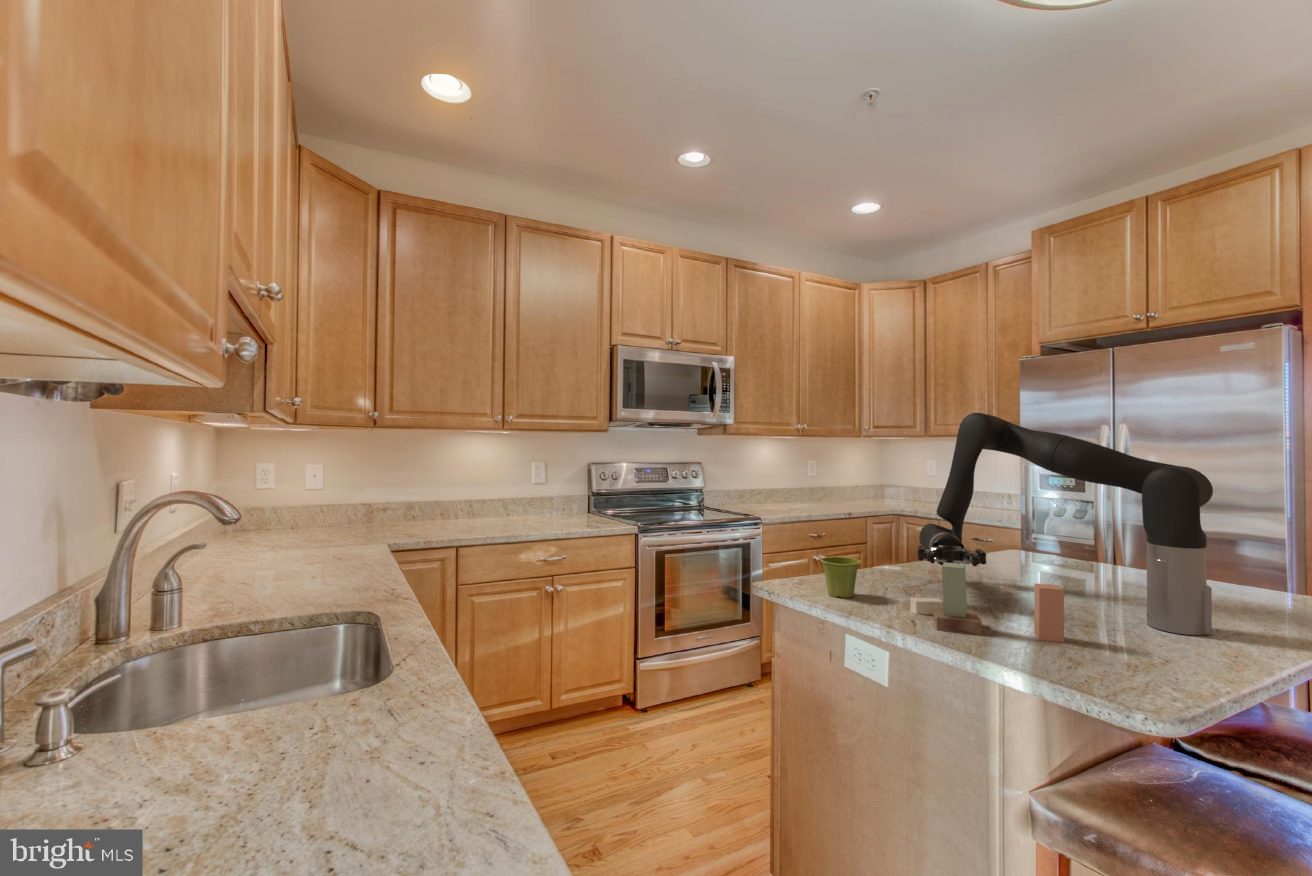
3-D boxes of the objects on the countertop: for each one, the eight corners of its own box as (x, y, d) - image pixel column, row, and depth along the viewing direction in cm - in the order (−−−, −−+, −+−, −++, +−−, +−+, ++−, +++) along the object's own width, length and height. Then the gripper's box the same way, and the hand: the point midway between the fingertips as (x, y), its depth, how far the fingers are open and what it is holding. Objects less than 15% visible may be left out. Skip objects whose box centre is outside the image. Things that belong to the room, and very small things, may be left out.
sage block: (966, 612, 122) (965, 563, 122) (965, 617, 119) (964, 568, 119) (945, 609, 124) (943, 562, 124) (943, 615, 121) (942, 566, 121)
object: (838, 601, 140) (839, 565, 140) (812, 592, 148) (812, 558, 148) (868, 597, 144) (869, 562, 144) (841, 589, 152) (841, 555, 152)
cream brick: (937, 611, 133) (937, 598, 133) (943, 615, 130) (943, 601, 130) (910, 611, 133) (910, 597, 133) (916, 615, 130) (916, 601, 130)
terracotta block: (1058, 636, 116) (1058, 585, 116) (1063, 642, 112) (1063, 589, 112) (1034, 633, 117) (1034, 583, 117) (1039, 639, 114) (1039, 587, 114)
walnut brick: (975, 625, 124) (975, 611, 124) (981, 637, 116) (981, 622, 116) (933, 621, 127) (933, 607, 127) (936, 632, 119) (936, 617, 119)
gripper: (915, 532, 150) (918, 541, 134) (978, 535, 145) (989, 545, 129) (915, 562, 149) (919, 574, 134) (978, 566, 144) (990, 579, 129)
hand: (953, 560), depth 132 cm, fingers open, 8 cm apart
